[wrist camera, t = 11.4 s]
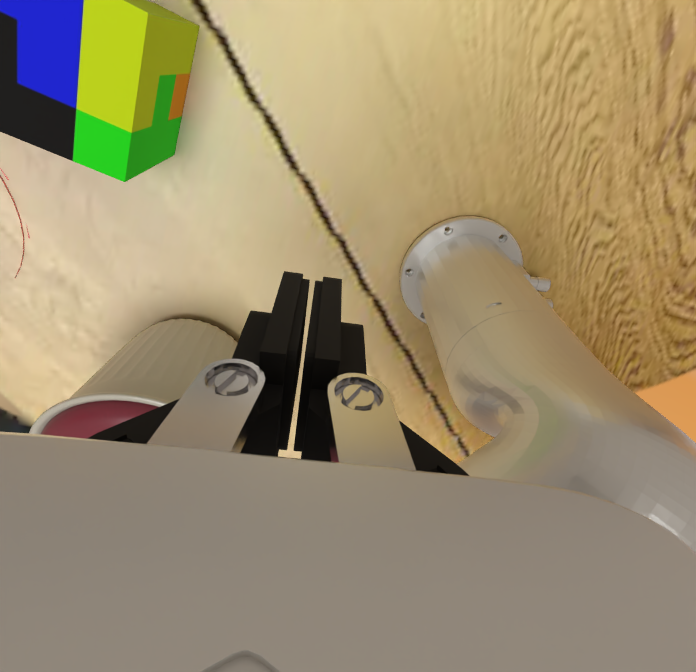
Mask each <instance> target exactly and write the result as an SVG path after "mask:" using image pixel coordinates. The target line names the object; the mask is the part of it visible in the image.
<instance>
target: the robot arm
mask: <svg viewBox="0 0 696 672" xmlns="http://www.w3.org/2000/svg"><path fill="white" fill-rule="evenodd" d="M446 227H449V229H448V230H444V229H445V228H446ZM500 235H502V236H501V237H500V238H499V236H500ZM407 269H410V270H409V271H407ZM309 281H310V280H307V279H303V274H300V273H293V272H285V271H284V273H283V277H282V280H281V283H280V287H279V290H278V293H277V297H276V300H275V303H274V307H273V310H272V313H266V312H258V311H250V313H249V316H248V318H247V321H246V323H245V326H244V328H243V331H242V334H241V336H240V339H239V341H238V344H237V346H236V349H235V351H234V354H233V357H232V359H223V360H219V361H216V362H213V363H211V364H209V365H207V366H206V367H205V368H204V369H203V370H201V371H200V373H199V374H198V375H197V377H196V378H195V379H194V381H193V382H192V383H191V385H190V386H189V387H188V389H187V390H186V391H185V393H184V394H183V395H182V397H181V398H180V399H177V400H175V401H173V402H170V403H168V404H165V405H163V406H161V407H158V408H156V409H153V410H151V411H149V412H146V413H144V414H141V415H139V416H137V417H134V418H132V419H129V420H127V421H125V422H122V423H120V424H117V425H115V426H113V427H110V428H108V429H105V430H103V431H101V432H98V433H96V434H94V435H92V436H91V437H89V438H87V439H85V438H74V437H63V436H53V435H42V434H27V433H11V432H0V672H696V443H695V442H694V441H693V440H691V439H690V438H689V437H688V436H687V435H686V434H685V433H684V432H683V431H681V430H680V429H679V428H678V427H676V426H675V425H674V424H673V423H671V422H670V421H669V420H668V419H666V418H665V417H664V416H663V415H661V414H660V413H659V412H658V411H656V410H655V409H654V408H653V407H651V406H650V405H649V404H647V403H646V402H645V401H644V400H643V399H641V398H640V397H639V396H638V395H636V394H635V393H634V392H633V391H631V390H630V389H629V388H628V387H627V386H625V385H624V384H623V383H622V382H621V381H620V380H619V379H618V378H616V377H615V376H614V375H613V374H612V373H611V372H610V371H609V370H608V369H607V368H606V367H605V366H604V365H603V364H602V363H601V362H600V361H599V360H598V359H597V358H596V357H595V356H594V355H593V354H592V353H591V351H590V350H589V349H588V348H587V347H586V346H585V345H584V344H583V343H582V342H581V341H580V340H579V338H578V337H577V336H576V335H575V334H574V333H573V332H572V330H571V329H570V328H569V327H568V326H567V325H566V324H565V322H564V321H563V320H562V319H561V318H560V317H559V315H558V314H557V313H556V312H555V311H554V310H553V302H552V300H551V299H547V298H543V297H542V296H541V295H540V293H539V292H538V291H542V292H547V291H548V290H549V288H550V285H551V281H550V279H548V278H542V277H530V275H529V274H528V273H527V272H526V271H525V269H524V268H523V258H522V252H521V250H520V247H519V245H518V243H517V241H516V240H515V239H514V237H513V236H512V235H511V233H510V232H509V231H507V230H506V229H505V228H504V227H503V226H501V225H500V224H498V223H497V222H495V221H492V220H490V219H487V218H484V217H477V216H460V217H456V218H451V219H447V220H445V221H443V222H440V223H438V224H436V225H434V226H433V227H431V228H430V229H428V230H426V231H425V232H424V233H423V234H422V235H421V236H420V237H418V238H417V239H416V240H415V242H414V243H413V244H412V246H411V247H410V248H409V250H408V252H407V253H406V255H405V257H404V259H403V262H402V266H401V269H400V280H399V282H400V289H401V293H402V297H403V300H404V302H405V304H406V306H407V308H408V309H409V310H410V311H411V313H412V314H413V315H414V316H415V317H416V318H418V319H419V320H420V321H422V322H424V323H426V324H427V325H428V328H429V331H430V334H431V337H432V340H433V343H434V347H435V350H436V353H437V356H438V359H439V362H440V365H441V368H442V371H443V374H444V377H445V380H446V383H447V385H448V388H449V391H450V394H451V397H452V399H453V401H454V403H455V405H456V407H457V408H458V410H459V411H460V412H461V414H462V415H463V416H464V417H465V418H466V419H467V420H468V421H469V422H470V423H472V424H473V425H474V426H476V427H477V428H479V429H480V430H482V431H483V432H485V433H487V434H489V435H491V436H493V437H495V438H494V439H493V440H491V441H490V442H488V443H487V444H485V445H484V446H482V447H481V448H479V449H478V450H476V451H475V452H474V453H473V454H472V455H470V456H469V457H467V458H465V459H464V460H462V461H461V462H459V463H457V464H455V463H454V462H453V461H452V460H450V459H449V458H448V457H446V456H445V455H444V454H442V453H441V452H440V451H438V450H437V449H436V448H435V447H433V446H432V445H431V444H429V443H428V442H427V441H425V440H424V439H423V438H421V437H420V436H419V435H417V434H416V433H415V432H414V431H412V430H411V429H410V428H408V427H407V426H406V425H404V424H403V423H402V422H400V421H399V419H398V416H397V414H396V411H395V408H394V405H393V402H392V399H391V396H390V393H389V392H388V390H387V388H386V387H385V386H384V385H383V384H382V383H381V382H380V381H379V380H377V379H375V378H373V377H371V376H368V375H367V373H366V359H365V344H364V329H363V325H359V324H351V323H343V322H341V291H342V279H336V278H329V277H323V282H322V281H315V288H314V295H313V302H312V309H311V316H310V323H309V330H308V337H307V344H306V352H305V359H304V367H303V376H302V384H301V393H300V401H299V410H298V418H297V426H296V435H295V443H294V451H301V452H302V455H301V459H297V458H287V457H278V452H279V449H281V450H287V446H288V440H289V433H290V427H291V420H292V414H293V407H294V401H295V394H296V388H297V381H298V375H299V368H300V361H301V353H302V344H303V335H304V326H305V317H306V308H307V300H308V291H309ZM422 312H423V313H422Z"/></svg>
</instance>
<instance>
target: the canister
mask: <svg viewBox="0 0 696 672" xmlns="http://www.w3.org/2000/svg"><path fill="white" fill-rule="evenodd" d="M237 344H238V342H236V341H235V340H234V339H233V337H232V336H229V335H228V334H227V333H226V332H225V331H223V330H221V329H219V328H218V327H217V326H213V325H211V324H210V323H205V322H202V321H200V320H192V319H182V318H180V319H176V320H175V319H170V320H167V321H162V322H159V323H157V324H155V325H152V326H150V327H148V328H147V329H145V330H144V331H142V332H141V333H139V334H138V335H137V336H135V337H134V338H133V339H132V340H131V341H130V342H129V343H128V344H126V345H125V346H124V347H123V348H122V349H121V350H120V351H119V352H117V353H116V354H115V355H114V356H113V357H112V358H111V359H110V360H109V361H108V362H107V363H106V364H105V365H104V366H103V367H102V368H101V369H100V370H99V371H98V372H96V373H95V374H94V375H93V376H92V377H91V378H90V379H89V380H88V381H87V382H86V383H85V384H84V385H83V386H82V387H81V388H80V389H79V390H78V391H77V392H76V393H75V394H74V395H73V396H72V397H70V398H69V399H67V400H64V401H62V402H60V403H58V404H56V405H54V406H52V407H51V408H49V409H48V410H46V411H45V412H44V413H43V414H42V415H41V416H40V417H39V418H38V419H37V420H36V421H35V423H34V424H33V426H32V427H31V429H30V432H29V434H42V435H53V436H63V437H74V438H85V439H87V438H89V437H91V436H92V435H94V434H96V433H98V432H101V431H103V430H105V429H108V428H110V427H113V426H115V425H117V424H120V423H122V422H125V421H127V420H129V419H132V418H134V417H137V416H139V415H141V414H144V413H146V412H149V411H151V410H153V409H156V408H158V407H161V406H163V405H165V404H168V403H170V402H173V401H175V400H177V399H180V398H181V397H182V395H183V394H184V393H185V391H186V390H187V389H188V387H189V386H190V385H191V383H192V382H193V381H194V379H195V378H196V377H197V375H198V374H199V373H200V371H201V370H203V369H204V368H205V367H206V366H207V365H209V364H211V363H213V362H216V361H219V360H223V359H232V357H233V354H234V351H235V349H236V346H237Z"/></svg>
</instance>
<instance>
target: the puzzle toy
mask: <svg viewBox="0 0 696 672" xmlns="http://www.w3.org/2000/svg"><path fill="white" fill-rule="evenodd" d="M198 31H199V26H198V25H196V24H194V23H192V22H190V21H188V20H186V19H184V18H182V17H180V16H179V15H177V14H175V13H173V12H171V11H169V10H167V9H165V8H163V7H161V6H159V5H157V4H155V3H153V2H151V1H149V0H0V132H3V133H5V134H8V135H10V136H13V137H15V138H17V139H20V140H22V141H25V142H27V143H30V144H32V145H35V146H37V147H40V148H42V149H45V150H47V151H49V152H52V153H54V154H57V155H59V156H62V157H64V158H67V159H69V160H72V161H74V162H77V163H79V164H81V165H84V166H86V167H89V168H91V169H94V170H96V171H99V172H101V173H104V174H106V175H109V176H111V177H114V178H116V179H118V180H121V181H123V182H126V181H128V180H129V179H131V178H133V177H135V176H137V175H138V174H140V173H142V172H144V171H146V170H148V169H149V168H151V167H153V166H155V165H157V164H159V163H160V162H162V161H164V160H166V159H168V158H169V157H171V156H173V155H174V153H175V148H176V143H177V138H178V133H179V128H180V123H181V118H182V113H183V107H184V102H185V97H186V92H187V87H188V82H189V77H190V72H191V67H192V62H193V56H194V51H195V46H196V41H197V36H198Z"/></svg>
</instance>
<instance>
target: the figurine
mask: <svg viewBox="0 0 696 672" xmlns="http://www.w3.org/2000/svg"><path fill="white" fill-rule="evenodd" d="M0 169H1V168H0ZM1 171H2V170H1ZM2 172H3V171H2ZM3 174H4V172H3ZM4 175H5V174H4ZM5 177H6V175H5ZM0 178H1V179H2V177H1V176H0ZM6 178H7V177H6ZM7 180H9V179H8V178H7ZM2 181H3V183H4V185H5V187H6V188H7V186H6V184H5V182H4V180H3V179H2ZM7 190H8V188H7ZM8 192H9V190H8ZM9 194H10V192H9ZM10 196H11V194H10ZM11 198H12V196H11ZM12 200H13V198H12ZM13 202H14V200H13ZM14 205H15V202H14ZM15 208H16V211H17V213H18V210H17V207H16V205H15ZM18 216H19V213H18ZM19 219H20V216H19ZM20 223H21V219H20ZM26 226H27V225H26ZM21 229H22V234H23V228H22V223H21ZM27 232H28V229H27ZM28 237H29V233H28ZM29 238H30V237H29ZM23 255H24V234H23ZM22 260H23V256H22ZM21 264H22V261H21ZM20 267H21V266H20ZM19 270H20V268H19ZM19 270H18V272H19ZM18 272H17V274H18ZM16 276H17V275H16ZM15 278H16V277H15Z"/></svg>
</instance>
